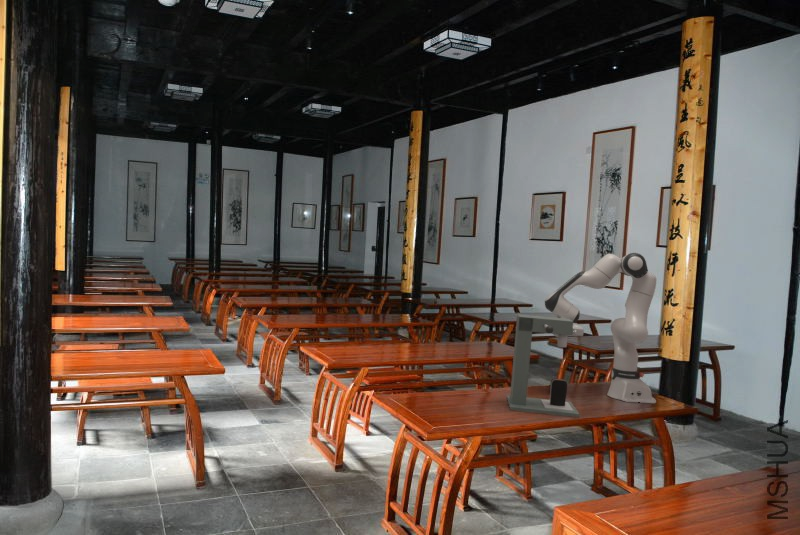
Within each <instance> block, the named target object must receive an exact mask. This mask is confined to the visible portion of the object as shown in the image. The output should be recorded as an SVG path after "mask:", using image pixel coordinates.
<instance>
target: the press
mask: <svg viewBox="0 0 800 535" xmlns="http://www.w3.org/2000/svg"><path fill="white" fill-rule="evenodd" d="M555 317H556V316H541V315H531V314H519V313H518V314H517V315H516V326H515V335H514V336H515V338H514V347H513V360H512V372H511V382H510V393H509V394H508V395H507V394H506V401H507V400H508V401H507V404H509V405H508V408H509V407H510V408H509V410H510V411H512V410H516V411H515V412H521V411H523V412H525V413H531V412H536V413H535V414H541V413H547V414H546V415H550V414H553V416H560V415H561V417H562V416H563V417H569V416H571V418H580V413H579V411H578V410H577V408H576V407H575V406H574V404H573V403H572V401H567V400H565V406H558V405H550V398H549V399H547V398H537V397H530V396H529V397H528V395H527V394H528V386H529V385H528V384H529V382H528V381H529V373H530V372H529V371H530V360H531V359H530V358H531V350H532V341H533V340H532V338H533V333H542V334H543V333H544V334H552V335H553V334H558V337H557V342H556V346H557V347H559V348H567V345H568V337H569V336H568V335H572V331H573V321H572V320H570V319H566V318H555ZM523 412H522V413H523Z"/></svg>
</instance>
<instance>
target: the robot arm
mask: <svg viewBox="0 0 800 535" xmlns="http://www.w3.org/2000/svg"><path fill="white" fill-rule="evenodd" d="M619 273H620V274H622V275H624V276H627V277H631V279H632V284H631V286H630V289H629V292H628V295H627V298H626V300H625V303H624V307H625V317H620V318H616V319H615V318H614V320H613V321H612V322H611V324H610V331H611V334H612V339H613V340H612V341H613V348H614V350H613V351H614V355H613V364H612V366H613V367H612V369H611V373H610V374H611V376H610V377H611V382H610V385H609V389H608V391H607V393H606V395H607V396H608V397H609V398H612V399H615V400H619V401H623V402H626V403H638V402H640V403H639V404H641V403H642V404H656V403H657V400H656V398H654V397H653V395H652V390H651V388H650V387H649V386H648V384H647V383H646V382H645V381H643V379H642V378H643V377H645V374H644V373H643V372H640V371H639V370H638V365H639V364H638V362H639V354H638V353H639V352H638V350H637V346H636V345H637V344H643V343H644V342H646V340H647V339H648V336H649V331H648V326H647V325H648V314H649V311H650V307H651V304H652V301H653V298H654V296H655V292H656V286H657V277H656V275H654V273H652V272H649V269H648V265H647V260H646V259H645V257H644V256H643V255H642V254H641V253H638V252H631V253H628V254H626V255H624V256H623V257H618V255H616V254H613V253H607V254H605V255H603V256H602V257H601V258H600V259H599V260H598V261H597V262H596V263H595V264H594V265H593V266H592V267H591V268H590V269H588V270H587V271H583V270H581V271H580V272H578V273H576V274H575V275H573V276H572V277H571V278H569V279H568V280H567V281H566V282H565V283H563V284H562V285H561V286H560V287H559V288H558V289H556V290H555V291H553V292H552V293H549V295H548V296H546V298H545V300H544V307H545V309H546V310H548V311H549V312H551V313H552V314H554V317H555V318H566V319H570V320H572V321H573V331H572V335H568V336H567V337H583V336H584V334H585V333H584V332H585V329H584V327H582V326H581V325H579V324H578V321H579V319H580V317H581V316H580V315H581V314H580V309H579V308H578V307H576V306H575V305H574V304H573V303H572V302H570V301H569V300H568V299H567V298H566V297H564V296H565V295H566V294H567V293H569V291H571V290H572V289H573V288H575V287H577V286H581V285H582V286H584V287H587V288H591V289H595V290H600V289H601V290H602V289H603V288H605V287H606V286H607V285H609V284H610V283H611V281H613V280H614V279H615V277H616V276H617V275H618V274H619ZM552 335H553V336H554V337H557V338H558V334H552Z"/></svg>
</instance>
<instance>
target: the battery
mask: <svg viewBox="0 0 800 535" xmlns="http://www.w3.org/2000/svg"><path fill="white" fill-rule="evenodd" d="M549 390H550V392H549V394H550V395H549V400H550V405H558V406H565V401H567V400H566V399H567V392H568V391H567V390H568V382H567V381H566V380H565V379H562V378H552V379H551V380H550V385H549Z"/></svg>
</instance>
